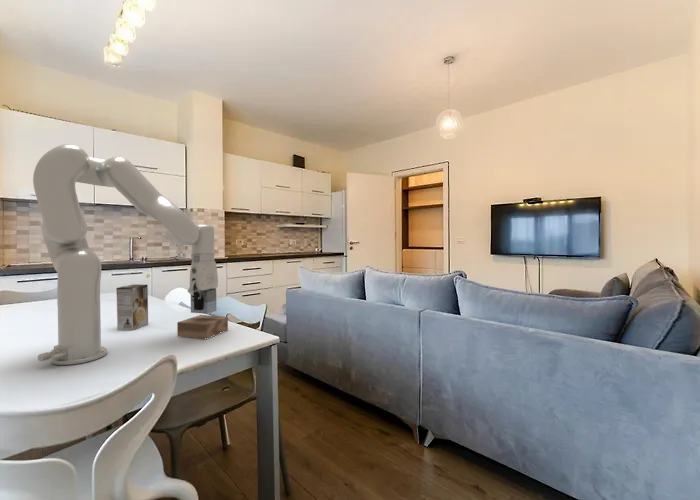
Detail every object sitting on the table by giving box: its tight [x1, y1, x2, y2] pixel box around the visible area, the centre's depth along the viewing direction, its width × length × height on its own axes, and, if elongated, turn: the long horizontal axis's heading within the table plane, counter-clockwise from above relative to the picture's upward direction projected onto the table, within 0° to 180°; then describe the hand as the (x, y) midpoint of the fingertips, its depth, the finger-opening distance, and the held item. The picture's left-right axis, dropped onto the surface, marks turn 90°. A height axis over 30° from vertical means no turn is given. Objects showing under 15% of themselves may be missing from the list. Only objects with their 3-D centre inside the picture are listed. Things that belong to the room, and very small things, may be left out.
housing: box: [190, 288, 217, 315], centre depth 122 cm, size 5×7×8 cm
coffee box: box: [116, 284, 149, 331], centre depth 129 cm, size 9×6×16 cm
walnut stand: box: [176, 314, 229, 340], centre depth 122 cm, size 12×12×5 cm
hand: (203, 307), depth 122 cm, fingers closed on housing, 5 cm apart
